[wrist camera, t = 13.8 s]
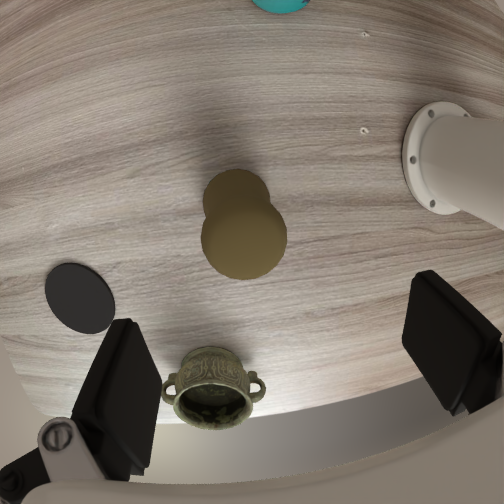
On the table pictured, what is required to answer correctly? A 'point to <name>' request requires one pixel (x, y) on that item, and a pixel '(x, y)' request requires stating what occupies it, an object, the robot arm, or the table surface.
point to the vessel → (212, 389)
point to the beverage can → (280, 5)
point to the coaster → (80, 298)
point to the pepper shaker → (241, 226)
